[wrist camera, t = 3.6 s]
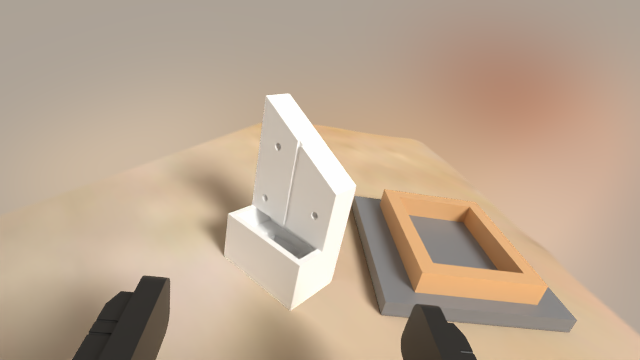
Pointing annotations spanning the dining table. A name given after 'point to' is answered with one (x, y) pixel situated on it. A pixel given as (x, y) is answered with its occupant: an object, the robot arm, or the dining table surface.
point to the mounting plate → (451, 263)
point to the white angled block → (291, 208)
